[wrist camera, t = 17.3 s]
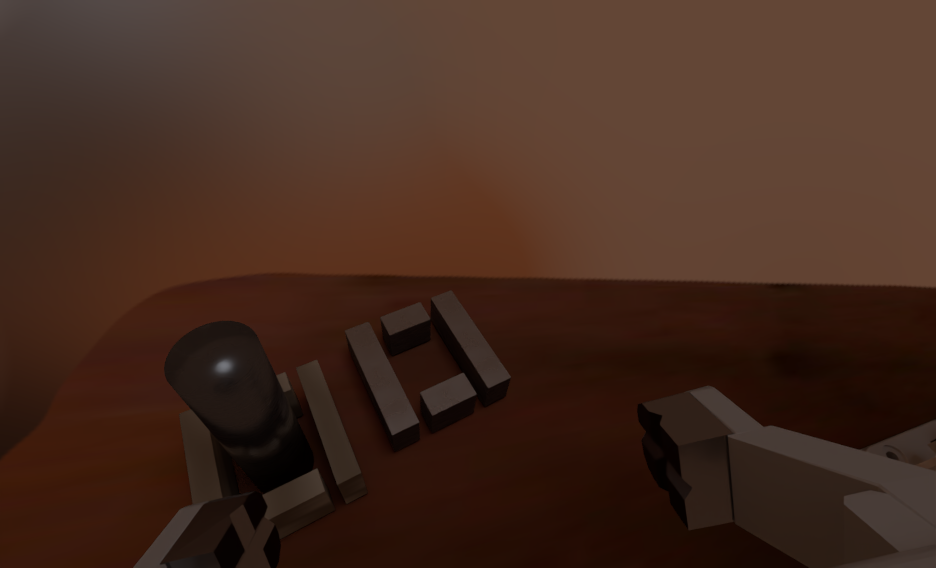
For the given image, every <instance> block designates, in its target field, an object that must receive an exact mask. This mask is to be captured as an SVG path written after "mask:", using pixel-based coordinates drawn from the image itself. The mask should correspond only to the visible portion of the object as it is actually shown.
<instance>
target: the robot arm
mask: <svg viewBox="0 0 936 568" xmlns="http://www.w3.org/2000/svg"><path fill="white" fill-rule="evenodd" d="M637 413H638V420H639V423H640V424H641V426H642V427H643V428H644V430H645V431H646V433H645V435H644V437H643V438H642V440H641V441H642V446H643V452H644V456H645V459H646V462H647V465H648V468H649V470H650V472H651V474H652V476H653V478H654V480H655V481H656V483H657V484H658V486H659V487H660V488H662V489H664V490H666V491H668V492H669V498H670V504H671V505H672V507H673V508H674V510H675V511H676V513H677V514H678V516H679V517H680V519H681V520H682V521H683V523H684V524H685V526H686V527H687V529H688V530H693V529H698V528H704V527H709V526H714V525H719V524H724V523H729V522H735V524H736V525H738V526H740V527H742V528H743V529H745V530H747V531H748V532H750V533H752V534H753V535H755V536H757V537H758V538H760V539H762V540H763V541H765V542H767V543H769V544H770V545H772V546H774V547H775V548H777V549H779V550H780V551H782V552H784V553H785V554H787V555H789V556H791V557H792V558H794V559H796V560H797V561H799V562H801V563H802V564H804V565H806V566H807V567H809V568H936V419H935V420H932V421H930V422H927V423H925V424H922V425H920V426H917V427H915V428H912V429H910V430H907V431H905V432H902V433H900V434H897V435H895V436H892V437H890V438H887V439H885V440H882V441H880V442H877V443H875V444H872V445H870V446H868V447H865V448H863V449H860V450H858V449H854V448H851V447H847V446H843V445H840V444H836V443H833V442H829V441H825V440H822V439H818V438H815V437H811V436H807V435H804V434H800V433H797V432H793V431H790V430H786V429H782V428H779V427H775V426H767V427H763V426H762V425H760V424H759V423H758V422H757V421H755V420H754V419H753V418H752V417H750V416H749V415H748V414H747V413H745V412H744V411H743V410H742V409H740V408H739V407H738V406H737V405H735V404H734V403H733V402H732V401H730V400H729V399H728V398H727V397H725V396H724V395H723V394H722V393H720V392H719V391H718V390H717V389H715V388H714V387H711V386H705V387H702V388H698V389H694V390H690V391H687V392H684V393H680V394H676V395H672V396H668V397H664V398H660V399H656V400H652V401H648V402H644V403H640V404H638V408H637ZM267 508H268V506H267V504H266V502H265V500H264V498H263V496H262V494H261V493H258V492H256V491H254V492H249V493H244V494H239V495H234V496H229V497H225V498H220V499H215V500H211V501H205V502H201V503H197V504H192V505H188V506H186V507H184V508H182V509H180V510H179V511H178V513H177V514H176V515H175V516H174V518H173V519H172V520H171V521H170V523H169V524H168V525H167V526H166V528H165V529H164V530H163V531H162V533H161V534H160V535H159V536H158V538H157V539H156V540H155V541H154V543H153V544H152V545H151V546H150V548H149V549H148V550H147V551H146V553H145V554H144V555H143V556H142V558H141V559H140V560H139V561H138V563H137V564H136V565H135V566H134V568H276V567H277V565H278V562H279V556H280V547H281V544H280V538H279V533H278V530H277V528H276V525H275V524H274V523H273V522H271V521H270V520H268V519H267V518H265V517H264V516H265V513H266V511H267Z"/></svg>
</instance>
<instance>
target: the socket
mask: <svg viewBox="0 0 936 568" xmlns="http://www.w3.org/2000/svg"><path fill="white" fill-rule="evenodd" d="M380 320H381V327H382V335H383V339H384V341H385V343H386V345H387V347H388V349H389V351H390V353H391V355H392V356H393V355H395V354H397V353H400V352H402V351H405V350H407V349H409V348H412V347H414V346H417V345H419V344H421V343H424V342H426V341H429V340H430V330H431V321H432V322H433V324H434V326H435V327H436V329H437V330H438V332H439V334H440V335H441V337H442V339H443V340H444V342H445V343H446V345H447V347H448V348H449V350H450V352H451V353H452V355H453V356H454V358H455V360H456V361H457V363H458V365H459V366H460V368H461V369H462V371H463V373H461V374H459V375H457V376H455V377H453V378H451V379H448V380H446V381H444V382H442V383H440V384H438V385H435V386H433V387H431V388H429V389H427V390H425V391H422V392H420V408H421V413H422V415H423V417H424V419H425V421H426V422H427V424H428V426H429V428H430V430H431V432H432V433H434V432H436V431H438V430H440V429H441V428H443V427H445V426H447V425H449V424H451V423H453V422H455V421H457V420H459V419H461V418H463V417H465V416H467V415H469V414H471V413H473V412H474V407H475V401H476V396H477V395H478V397H479V399H480V400H481V402H482V403H483V405H484V407H485V406H487V405H489V404H491V403H493V402H495V401H497V400H499V399H501V398H503V397H505V396H506V394H507V390H508V386H509V383H510V379H511V377H510V375H509V374H508V372H507V371H506V369H505V368H504V366H503V365H502V363H501V362H500V361H499V359H498V358H497V356H496V355H495V353H494V352H493V350H492V349H491V347H490V346H489V345H488V343H487V342H486V340H485V339H484V337H483V336H482V334H481V333H480V331H479V330H478V328H477V327H476V326H475V324H474V323H473V321H472V320H471V318H470V317H469V315H468V314H467V312H466V311H465V310H464V308H463V307H462V305H461V304H460V302H459V301H458V299H457V298H456V296H455V295H454V294H453V292H452V291H448V292H446V293H443V294H441V295H438V296H435V297H433V298H431V319H430V317H429V316H428V314H427V313H426V311H425V309H424V308H423V306H422V304H421V303H420V302H419V303H417V304H414V305H411V306H409V307H406V308H404V309H401V310H398V311H396V312H393V313H390V314H388V315H385V316H382V317H380ZM345 335H346V339H347V343H348V347H349V351H350V353H351V356H352V358H353V360H354V362H355V365H356V367H357V369H358V371H359V373H360V376H361V378H362V380H363V382H364V385H365V387H366V389H367V391H368V394H369V396H370V398H371V400H372V402H373V405H374V407H375V409H376V411H377V414H378V416H379V418H380V420H381V422H382V425H383V427H384V429H385V431H386V434H387V436H388V438H389V440H390V442H391V445H392V447H393V449H394V451H395V452H396V451H398V450H400V449H402V448H404V447H406V446H408V445H410V444H412V443H414V442H416V441H418V440H420V427H419V420H418V419H417V417H416V415H415V413H414V411H413V409H412V407H411V405H410V403H409V401H408V399H407V397H406V395H405V393H404V391H403V389H402V387H401V385H400V383H399V381H398V379H397V377H396V375H395V373H394V371H393V369H392V367H391V365H390V363H389V361H388V359H387V357H386V355H385V353H384V351H383V349H382V347H381V345H380V343H379V341H378V339H377V337H376V335H375V333H374V332H373V330H372V328H371V326H370V324H369V322H366V323H364V324H361V325H359V326H356V327H353V328H351V329H348V330H345Z"/></svg>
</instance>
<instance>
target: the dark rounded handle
mask: <svg viewBox="0 0 936 568" xmlns="http://www.w3.org/2000/svg"><path fill="white" fill-rule="evenodd" d="M164 371H165V376H166V379H167V381H168V382H169V384H170V385H171V386H172V387H173V389H174V390H175V391H176V392H177V393H178V394H179V396H180V397H181V398H182V399H183V400H184V401H185V403H186V404H187V405H188V406H189V407H190V408H191V410H192V411H193V412H194V413H195V414H196V416H197V417H198V418H199V419H200V420H201V421H202V423H203V424H204V425H205V426H206V427H207V428H208V430H209V431H210V432H211V433H212V434H213V435H214V437H215V438H216V439H217V440H218V441H219V443H220V444H221V445H222V446H223V447H224V448H225V450H226V451H227V452H228V453H229V454H230V455H231V457H232V458H233V459H234V460H235V461H236V462H237V464H238V465H239V466H240V467H241V468H242V469H243V471H244V472H245V473H246V474H247V475H248V477H249V478H250V479H251V480H252V481H253V482H254V484H255V485H256V486H257V487H258V488H259V489H260V490H261V491H262V492H264V493H268V492H270V491H272V490H274V489H276V488H278V487H280V486H282V485H284V484H286V483H288V482H290V481H292V480H294V479H296V478H298V477H301V476H303V475H305V474H307V473H309V472H311V470H312V467H313V462H314V457H313V452H312V450H311V447H310V445H309V443H308V441H307V439H306V437H305V435H304V433H303V431H302V429H301V427H300V424H299V422H298V420H297V418H296V416H295V414H294V412H293V410H292V408H291V406H290V404H289V402H288V399H287V397H286V395H285V393H284V391H283V389H282V387H281V385H280V383H279V381H278V379H277V377H276V374H275V372H274V370H273V368H272V366H271V364H270V362H269V360H268V358H267V356H266V354H265V352H264V349H263V347H262V345H261V343H260V341H259V339H258V337H257V335H256V334H255V332H254V331H253V330H252V329H251V328H250V327H248V326H246V325H244V324H242V323H239V322H234V321H218V322H213V323H209V324H206V325H203V326H200V327H198V328H196V329H194V330H192V331H191V332H189V333H188V334H186V335H185V336H183V337H182V338H181V339H180V340H179V341H178V342H177V343H176V344H175V345H174V346H173V348H172V349H171V350H170V352H169V354H168V356H167V358H166V361H165V367H164Z"/></svg>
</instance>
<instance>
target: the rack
mask: <svg viewBox="0 0 936 568" xmlns="http://www.w3.org/2000/svg"><path fill="white" fill-rule="evenodd" d="M296 369H297V372H298V375H299V378H300V381H301V383H302V386H303V389H304V392H305V395H306V398H307V400H308V403H309V406H310V409H311V412H312V415H313V418H314V420H315V423H316V426H317V429H318V432H319V435H320V437H321V440H322V443H323V446H324V449H325V452H326V454H327V457H328V460H329V463H330V466H331V469H332V472H333V474H334V477H335V480H336V483H337V486H338V488H339V490H340V492H341V494H342V496H343V498H344V500H345V502H346V504H348V503H350V502H351V501H353V500H355V499H357V498H359V497H361V496H363V495H365V494H367V493H368V492H367V489H366V486H365V483H364V480H363V477H362V474H361V471H360V468H359V466H358V463H357V461H356V458H355V456H354V453H353V451H352V448H351V445H350V443H349V440H348V438H347V435H346V433H345V430H344V428H343V425H342V422H341V420H340V417H339V415H338V412H337V410H336V407H335V404H334V402H333V399H332V397H331V394H330V392H329V389H328V387H327V384H326V381H325V379H324V376H323V374H322V371H321V369H320V366H319V364H318V361H317V360H315V361H313V362H310V363H307V364H305V365H302V366H300V367H297V368H296ZM276 377H277V379H278V381H279V383H280V385H281V387H282V389H283V391H284V393H285V395H286V397H287V399H288V402H289V404H290V406H291V408H292V410H293V412H294V414H295V416H296V418H297V417H300V416H302V415H303V412H302V409H301V407H300V404H299V401H298V398H297V396H296V394H295V392H294V389H293V387H292V385H291V383H290V381H289V379H288V377H287V375H286V373H282V374H280V375H277V376H276ZM179 416H180V423H181V430H182V436H183V443H184V449H185V456H186V462H187V469H188V475H189V482H190V489H191V495H192V502H193V504H197V503H201V502H205V501H211V500H215V499H220V498H225V497H229V496H234V495H239V491H238V486H237V482H236V477H235V473H234V468H233V463H232V459H231V455H230V454H229V453H228V452H227V451H226V450H225V448H224V447H223V446H222V445H221V444H220V443H219V441H218V440H217V439H216V438H215V437H214V435H213V434H212V433H211V432H210V431H209V430H208V428H207V427H206V426H205V425H204V424H203V423H202V421H201V420H200V419H199V418H198V417H197V416H196V414H195V413H194V412H193V411H192V410H188V411H186V412H183V413H181V414H179ZM262 496H263V498H264V500H265V502H266V504H267V506H268V508H267V511H266V513H265V516H264V517H265V518H267V519H268V520H270V521H271V522H273V523H274V524H275V525H276V528H277V530H278V533H279V538H280V539H281V538H283V537H285V536H287V535H289V534H291V533H293V532H295V531H297V530H298V529H300V528H302V527H304V526H306V525H308V524H310V523H312V522H314V521H315V520H317V519H319V518H321V517H323V516H325V515H327V514H329V513H331V512H332V511H334V510H335V507H334V504H333V501H332V498H331V495H330V492H329V489H328V487H327V485H326V484H325V482H324V480H323V478H322V476H321V474H320V473H319V471H318V469H315V470H313V471H311V472H309V473H307V474H305V475H303V476H301V477H298V478H296V479H294V480H292V481H290V482H288V483H286V484H284V485H282V486H280V487H278V488H276V489H274V490H272V491H270V492H268V493H266V494H263V495H262Z"/></svg>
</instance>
